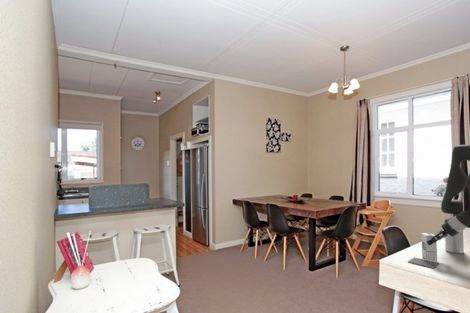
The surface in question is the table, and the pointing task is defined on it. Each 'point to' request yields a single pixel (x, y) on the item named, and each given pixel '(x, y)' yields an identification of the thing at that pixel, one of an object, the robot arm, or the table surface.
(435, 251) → the syrup box
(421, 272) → the table surface
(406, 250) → the table surface
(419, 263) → the mat
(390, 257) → the table surface
